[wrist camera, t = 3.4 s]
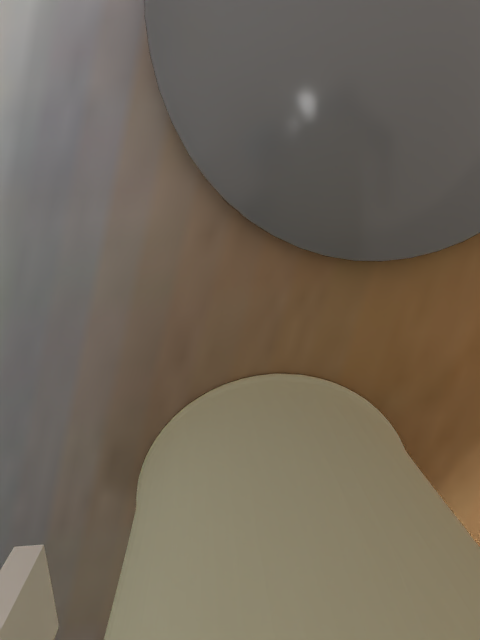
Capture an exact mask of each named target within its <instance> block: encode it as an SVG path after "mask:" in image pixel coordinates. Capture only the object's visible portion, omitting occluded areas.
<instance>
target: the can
mask: <svg viewBox="0 0 480 640" xmlns="http://www.w3.org/2000/svg"><path fill="white" fill-rule="evenodd" d="M104 640H480V547H479V546H478V544H477V543H476V542H475V541H474V539H473V538H472V537H471V535H470V534H469V533H468V531H467V530H466V529H465V528H464V526H463V525H462V524H461V522H460V521H459V520H458V519H457V517H456V516H455V515H454V513H453V512H452V511H451V510H450V508H449V507H448V506H447V504H446V503H445V502H444V500H443V499H442V498H441V497H440V495H439V494H438V493H437V491H436V490H435V489H434V488H433V486H432V485H431V484H430V482H429V481H428V480H427V478H426V477H425V476H424V475H423V473H422V472H421V471H420V469H419V468H418V467H417V466H416V464H415V463H414V462H413V460H412V459H411V457H410V456H409V455H408V453H407V452H406V451H405V448H404V446H403V444H402V442H401V440H400V438H399V436H398V434H397V432H396V431H395V429H394V428H393V427H392V425H391V424H390V422H389V421H388V420H387V419H386V418H385V417H384V416H383V414H382V413H381V412H380V411H379V410H378V409H377V408H375V407H374V406H373V405H372V404H371V403H370V402H368V401H367V400H366V399H364V398H363V397H361V396H360V395H358V394H357V393H355V392H353V391H351V390H349V389H348V388H346V387H343V386H341V385H338V384H336V383H333V382H331V381H328V380H324V379H320V378H316V377H312V376H306V375H300V374H277V373H276V374H267V375H258V376H252V377H247V378H243V379H239V380H236V381H233V382H230V383H227V384H224V385H222V386H220V387H217V388H215V389H213V390H211V391H209V392H207V393H206V394H204V395H202V396H200V397H199V398H197V399H196V400H194V401H193V402H191V403H190V404H188V405H187V406H186V407H184V408H183V409H182V410H181V411H180V412H179V413H178V414H176V415H175V416H174V417H173V418H172V419H171V420H170V422H169V423H168V424H167V425H166V426H165V427H164V428H163V429H162V431H161V432H160V434H159V435H158V437H157V438H156V439H155V441H154V442H153V444H152V446H151V448H150V449H149V451H148V454H147V456H146V458H145V460H144V462H143V465H142V469H141V472H140V475H139V480H138V484H137V493H136V511H135V515H134V520H133V524H132V528H131V532H130V537H129V541H128V545H127V549H126V553H125V558H124V562H123V566H122V570H121V574H120V578H119V582H118V586H117V590H116V593H115V597H114V601H113V605H112V609H111V613H110V617H109V621H108V625H107V629H106V633H105V636H104Z"/></svg>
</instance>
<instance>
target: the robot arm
mask: <svg viewBox="0 0 480 640" xmlns="http://www.w3.org/2000/svg"><path fill="white" fill-rule="evenodd" d="M58 628H59V623H58V617H57V612H56V607H55V601H54V596H53V590H52V585H51V580H50V574H49V569H48V564H47V558H46V553H45V547H44V545H31V546H17V547H14V548H13V550H12V551H11V553H10V555H9V556H8V558H7V560H6V561H5V563H4V565H3V566H2V568H1V570H0V640H54V639H55V636H56V633H57V631H58Z"/></svg>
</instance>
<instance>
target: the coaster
mask: <svg viewBox="0 0 480 640" xmlns="http://www.w3.org/2000/svg"><path fill="white" fill-rule="evenodd" d="M144 1H145V21H146V29H147V36H148V43H149V50H150V56H151V60H152V64H153V68H154V72H155V75H156V79H157V83H158V87H159V90H160V93H161V96H162V98H163V101H164V103H165V106H166V109H167V111H168V114H169V116H170V119H171V121H172V124H173V126H174V128H175V130H176V131H177V133H178V135H179V137H180V139H181V141H182V143H183V145H184V146H185V148H186V150H187V152H188V154H189V156H190V157H191V158H192V160H193V161H194V163H195V164H196V165H197V167H198V168H199V170H200V171H201V173H202V174H203V175H204V177H205V178H206V180H207V181H208V182H209V183H210V184H211V185H212V186H213V187H214V188H215V190H216V191H217V192H218V193H219V194H220V195H221V196H222V197H223V198H224V199H225V201H226V202H228V203H229V204H230V205H231V206H232V207H234V208H235V209H236V210H237V211H238V212H239V213H241V214H242V215H243V216H244V217H245V218H247V219H248V220H249V221H251V222H252V223H254V224H255V225H257V226H259V227H260V228H262V229H263V230H265V231H266V232H268V233H270V234H271V235H273V236H275V237H277V238H280V239H282V240H284V241H286V242H288V243H290V244H293V245H295V246H297V247H299V248H302V249H305V250H308V251H312V252H315V253H318V254H321V255H325V256H329V257H335V258H342V259H348V260H354V261H388V260H397V259H406V258H412V257H416V256H420V255H424V254H428V253H432V252H436V251H439V250H442V249H444V248H447V247H450V246H452V245H455V244H457V243H460V242H463V241H465V240H467V239H469V238H470V237H472V236H474V235H476V234H478V233H480V0H144Z"/></svg>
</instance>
